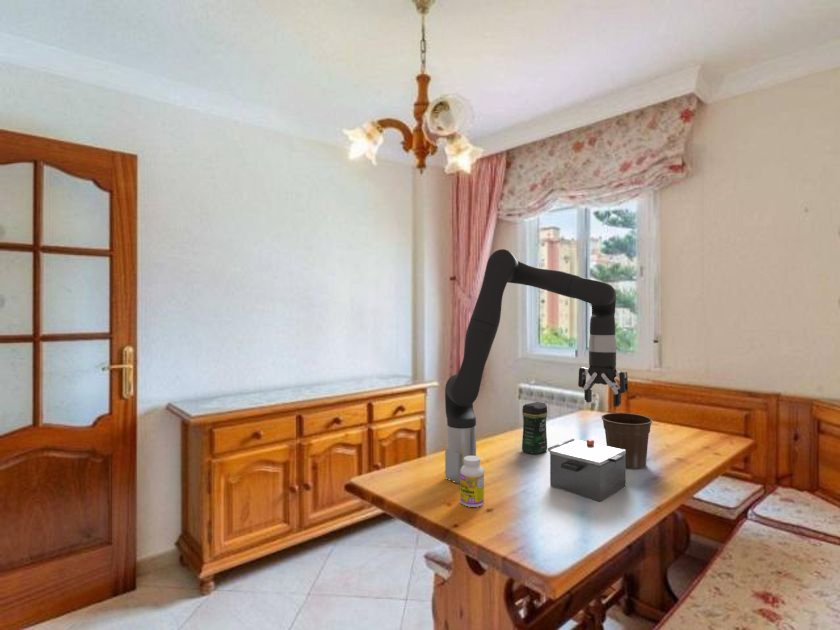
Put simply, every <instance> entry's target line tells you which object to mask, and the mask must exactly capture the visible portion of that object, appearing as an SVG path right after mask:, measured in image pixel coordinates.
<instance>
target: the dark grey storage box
mask: <svg viewBox="0 0 840 630" xmlns="http://www.w3.org/2000/svg"><path fill="white" fill-rule="evenodd" d="M549 455H550V457H549V461H550V462H549V464H550V466H549V467H550V469H549V471H550V473H549V475H550V477H549V482H550V483H549V485H550V487H552V488H554V489H558V490H562V491H565V492H567V493H568V492H569V493H571V494H574V495H577V496H580V497H583V498H586V499H589V500H591V501H593V500H594V501H596V502H599V503H601V502H604V500H606V499H608V498H609V497H612V496H613V495H614V494H616V493H618V492H620V491H621V490H622V489H624V487H625V488H626V486H627V485H626V484H627V483H626V478H627V477H626V473H627V472H626V470H627V469H626V454H623V455H622V456H623V459H621V460H619V461H617V462H612V461H609V462H607V463H605V464H603V465H601V466H598V465H594V464H590V463H586V462H582V461H578V460H574V459H570V458H566V457H562V456H558V455H554V454H550V453H549Z"/></svg>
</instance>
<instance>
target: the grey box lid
mask: <svg viewBox="0 0 840 630" xmlns="http://www.w3.org/2000/svg"><path fill="white" fill-rule="evenodd" d="M547 451H548V452H549V455H550V454H554V455H558V456H562V457H566V458H570V459H574V460H578V461H582V462H586V463H590V464H594V465H598V466H601V465H603V464H605V463H607V462H609V461H612V462H617V461H619V460H621V459H623V456H622V455H623V454H625V453H626V450H623V449H619V448H614V447H609V446H607V445H604V444H600V443H599V444H598V443H595V440H593V439H586V441H584V440H580V439H576V440H575V439H574V438H572V439H569V440H566V441H564V442H560V443H558V444H555V445H552V446H550V447H547Z"/></svg>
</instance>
